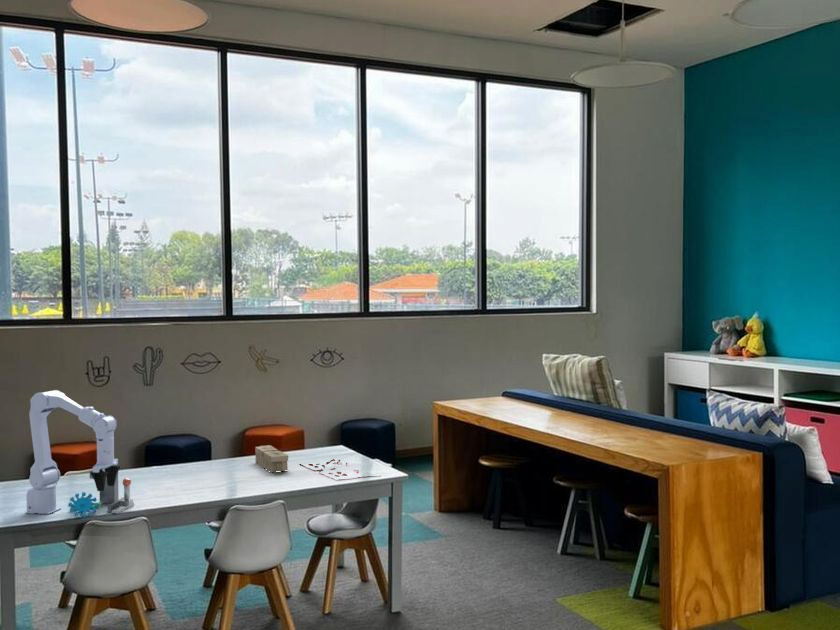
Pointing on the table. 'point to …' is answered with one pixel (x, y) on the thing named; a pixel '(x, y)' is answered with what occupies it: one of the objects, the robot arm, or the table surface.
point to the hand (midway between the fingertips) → (105, 488)
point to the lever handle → (126, 492)
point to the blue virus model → (83, 504)
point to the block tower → (271, 458)
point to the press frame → (111, 497)
